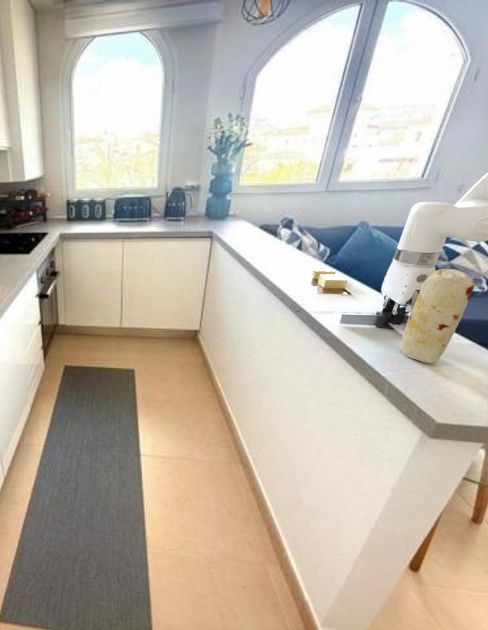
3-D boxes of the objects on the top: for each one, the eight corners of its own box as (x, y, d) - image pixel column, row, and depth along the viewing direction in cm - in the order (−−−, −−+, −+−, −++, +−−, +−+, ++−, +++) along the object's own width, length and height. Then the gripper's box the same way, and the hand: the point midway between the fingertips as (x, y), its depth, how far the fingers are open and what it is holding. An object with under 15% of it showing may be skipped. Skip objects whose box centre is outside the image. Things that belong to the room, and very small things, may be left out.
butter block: (338, 283, 115) (340, 274, 113) (345, 288, 110) (347, 280, 109) (317, 282, 116) (319, 274, 115) (323, 288, 112) (326, 279, 110)
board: (335, 281, 120) (336, 276, 120) (357, 298, 106) (359, 294, 106) (290, 280, 124) (291, 276, 123) (306, 297, 110) (307, 293, 109)
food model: (449, 369, 73) (493, 281, 65) (410, 365, 75) (447, 279, 67) (423, 345, 81) (459, 265, 73) (388, 343, 84) (419, 264, 75)
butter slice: (331, 277, 119) (333, 269, 118) (333, 279, 118) (335, 271, 116) (311, 277, 121) (313, 269, 120) (313, 279, 119) (315, 271, 118)
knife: (341, 325, 92) (345, 313, 90) (337, 321, 94) (341, 309, 92) (404, 328, 88) (409, 316, 87) (399, 324, 90) (404, 312, 89)
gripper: (460, 267, 74) (426, 340, 82) (413, 247, 88) (388, 312, 96) (417, 266, 76) (389, 338, 84) (378, 247, 90) (357, 310, 98)
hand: (389, 324), depth 90 cm, fingers closed on knife, 2 cm apart
